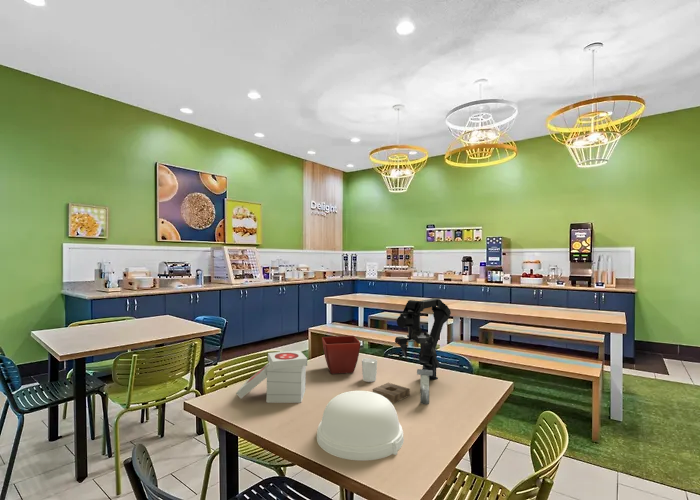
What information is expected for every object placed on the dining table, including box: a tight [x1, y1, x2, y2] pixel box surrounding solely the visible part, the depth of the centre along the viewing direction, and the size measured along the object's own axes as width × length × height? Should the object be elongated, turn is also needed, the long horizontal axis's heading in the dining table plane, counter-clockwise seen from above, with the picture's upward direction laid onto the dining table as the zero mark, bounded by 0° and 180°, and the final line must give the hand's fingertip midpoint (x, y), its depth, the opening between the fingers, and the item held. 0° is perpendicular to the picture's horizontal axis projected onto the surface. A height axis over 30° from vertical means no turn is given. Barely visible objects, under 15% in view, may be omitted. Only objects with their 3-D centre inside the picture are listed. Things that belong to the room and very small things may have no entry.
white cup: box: [361, 357, 378, 383], centre depth 184 cm, size 8×8×10 cm
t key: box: [416, 368, 433, 405], centre depth 155 cm, size 4×6×14 cm, turn 74°
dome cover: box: [316, 390, 404, 461], centre depth 125 cm, size 32×30×14 cm
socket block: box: [372, 382, 411, 404], centre depth 163 cm, size 12×12×3 cm
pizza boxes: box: [236, 350, 308, 404], centre depth 162 cm, size 19×30×18 cm, turn 90°
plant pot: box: [321, 335, 362, 375], centre depth 200 cm, size 19×19×17 cm
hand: (414, 357), depth 180 cm, fingers open, 9 cm apart
